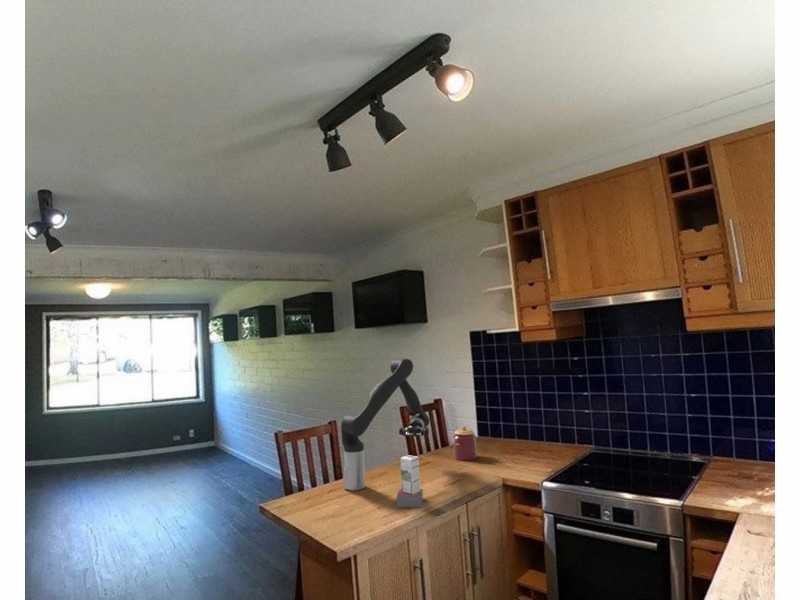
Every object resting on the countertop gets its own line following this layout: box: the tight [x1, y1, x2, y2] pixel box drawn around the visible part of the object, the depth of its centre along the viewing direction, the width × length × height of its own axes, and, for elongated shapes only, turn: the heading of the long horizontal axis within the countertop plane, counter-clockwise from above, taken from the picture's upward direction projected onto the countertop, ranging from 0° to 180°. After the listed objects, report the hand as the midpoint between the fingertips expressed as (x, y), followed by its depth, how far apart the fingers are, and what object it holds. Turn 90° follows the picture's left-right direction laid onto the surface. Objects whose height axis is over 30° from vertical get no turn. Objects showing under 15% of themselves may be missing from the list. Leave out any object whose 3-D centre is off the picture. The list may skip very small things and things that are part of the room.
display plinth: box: [396, 488, 424, 508], centre depth 192 cm, size 10×10×4 cm
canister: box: [452, 425, 478, 461], centre depth 257 cm, size 13×13×18 cm
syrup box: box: [400, 454, 421, 495], centre depth 193 cm, size 6×6×14 cm
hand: (412, 433), depth 214 cm, fingers open, 8 cm apart
